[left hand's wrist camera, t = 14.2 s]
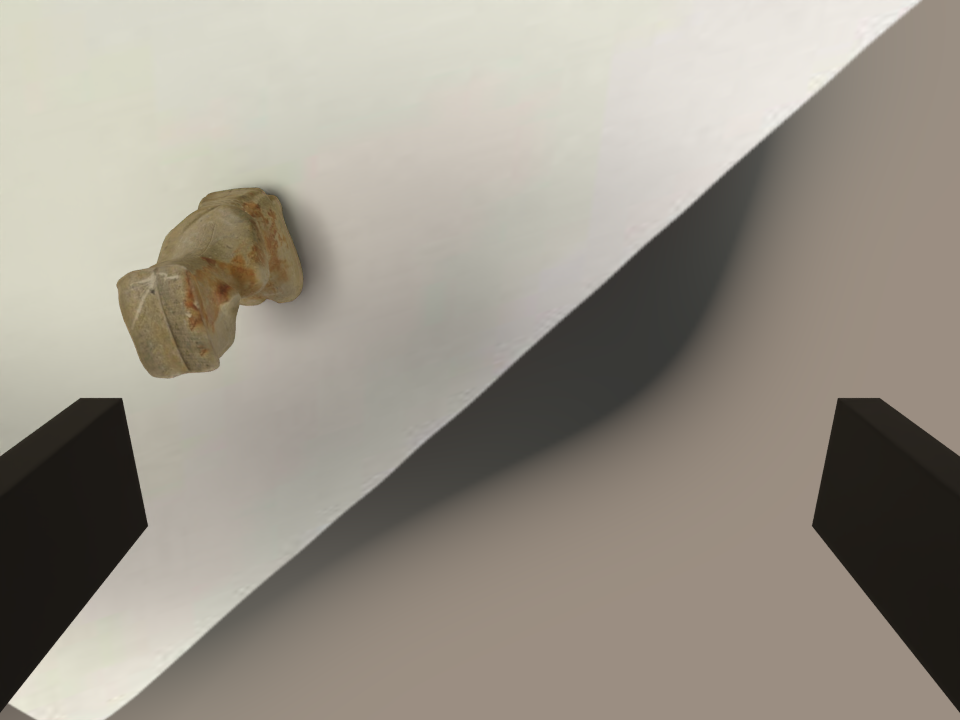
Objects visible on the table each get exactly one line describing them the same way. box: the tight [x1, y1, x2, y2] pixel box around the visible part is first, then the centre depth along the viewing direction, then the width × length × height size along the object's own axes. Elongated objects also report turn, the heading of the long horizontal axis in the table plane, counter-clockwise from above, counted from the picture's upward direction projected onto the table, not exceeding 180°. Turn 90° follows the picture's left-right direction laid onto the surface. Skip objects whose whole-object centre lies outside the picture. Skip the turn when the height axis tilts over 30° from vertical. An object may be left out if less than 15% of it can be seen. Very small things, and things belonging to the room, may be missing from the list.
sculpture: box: [117, 188, 303, 378], centre depth 35 cm, size 6×7×15 cm
